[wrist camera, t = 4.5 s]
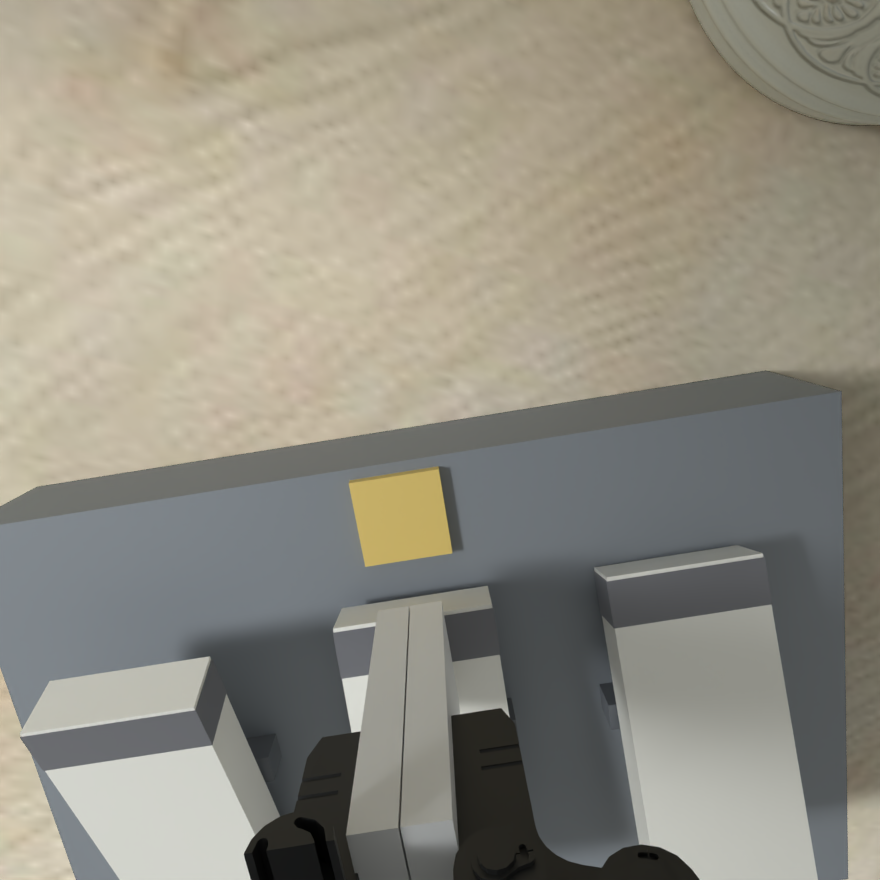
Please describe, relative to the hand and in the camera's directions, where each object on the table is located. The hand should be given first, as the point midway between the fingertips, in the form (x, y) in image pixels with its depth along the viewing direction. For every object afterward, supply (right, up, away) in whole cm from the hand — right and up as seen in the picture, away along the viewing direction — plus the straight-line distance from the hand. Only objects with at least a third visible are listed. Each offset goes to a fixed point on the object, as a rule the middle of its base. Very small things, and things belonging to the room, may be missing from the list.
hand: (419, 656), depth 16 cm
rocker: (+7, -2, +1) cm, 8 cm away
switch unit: (0, -2, +7) cm, 8 cm away
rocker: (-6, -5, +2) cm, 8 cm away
